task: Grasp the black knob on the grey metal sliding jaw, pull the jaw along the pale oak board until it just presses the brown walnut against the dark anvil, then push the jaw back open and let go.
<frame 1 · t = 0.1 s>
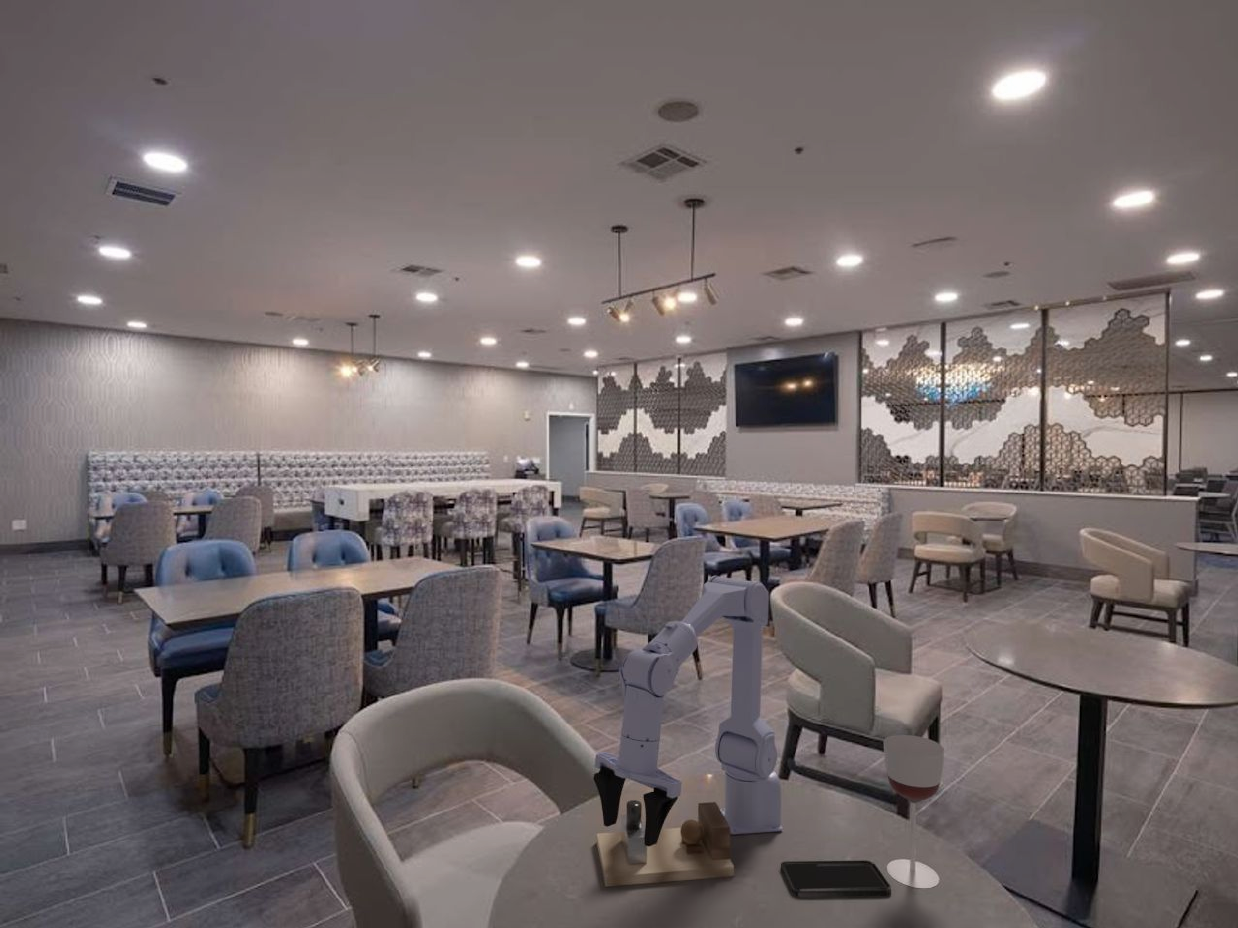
hand: (629, 833, 96), 11 cm above the table, tool pointing down, fingers open, 7 cm apart
wineglass: (912, 874, 105), on the table
walnut: (691, 831, 109), point 4 cm above the table, touching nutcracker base
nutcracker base: (662, 858, 108), on the table
phone: (834, 883, 103), on the table
sliding jaw: (633, 827, 107), point 5 cm above the table, slide at 0.0 cm
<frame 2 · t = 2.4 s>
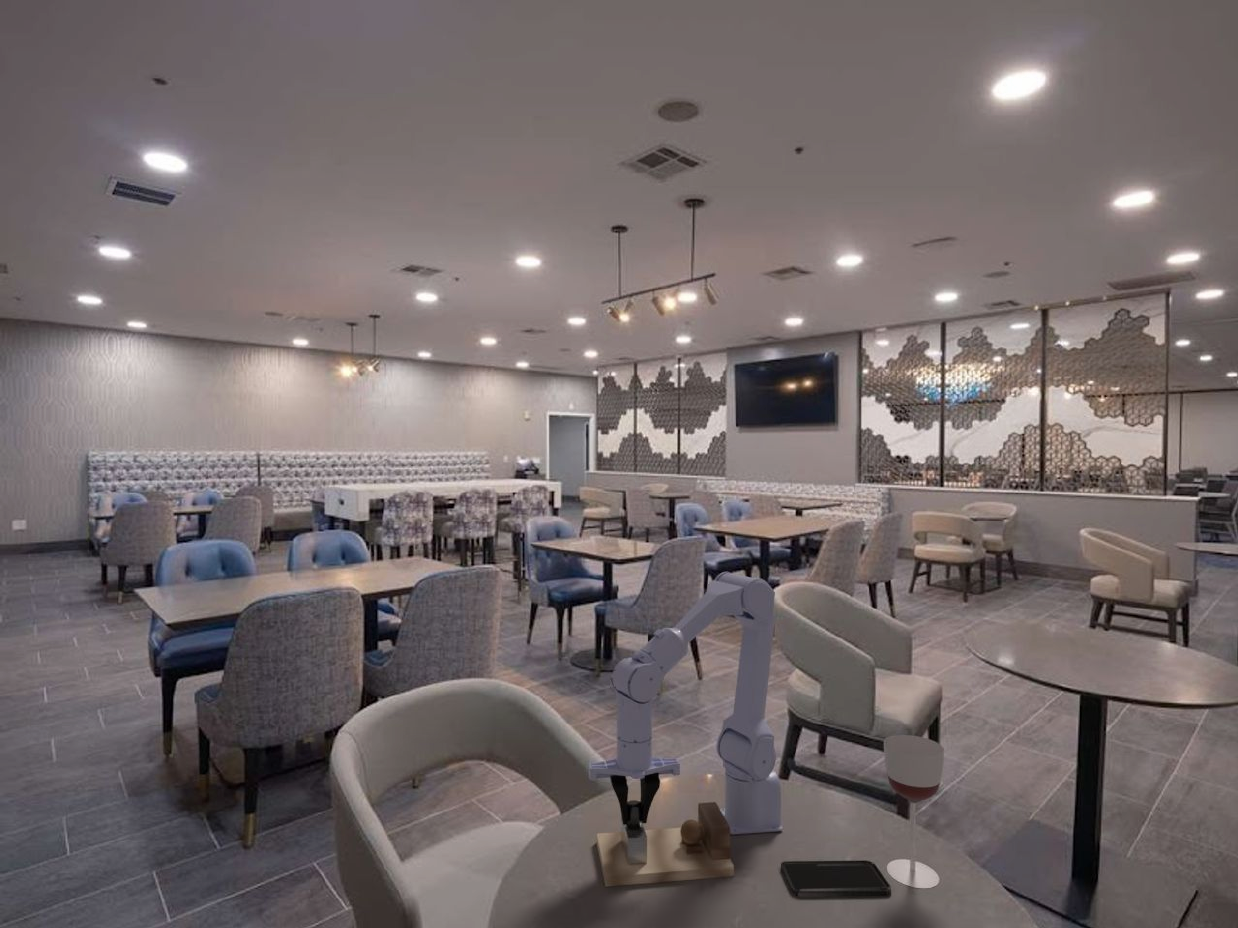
hand: (633, 820, 107), 6 cm above the table, tool pointing down, fingers closed on sliding jaw, 2 cm apart
sliding jaw: (633, 827, 107), point 5 cm above the table, slide at 0.0 cm, touching gripper
everything else where it was.
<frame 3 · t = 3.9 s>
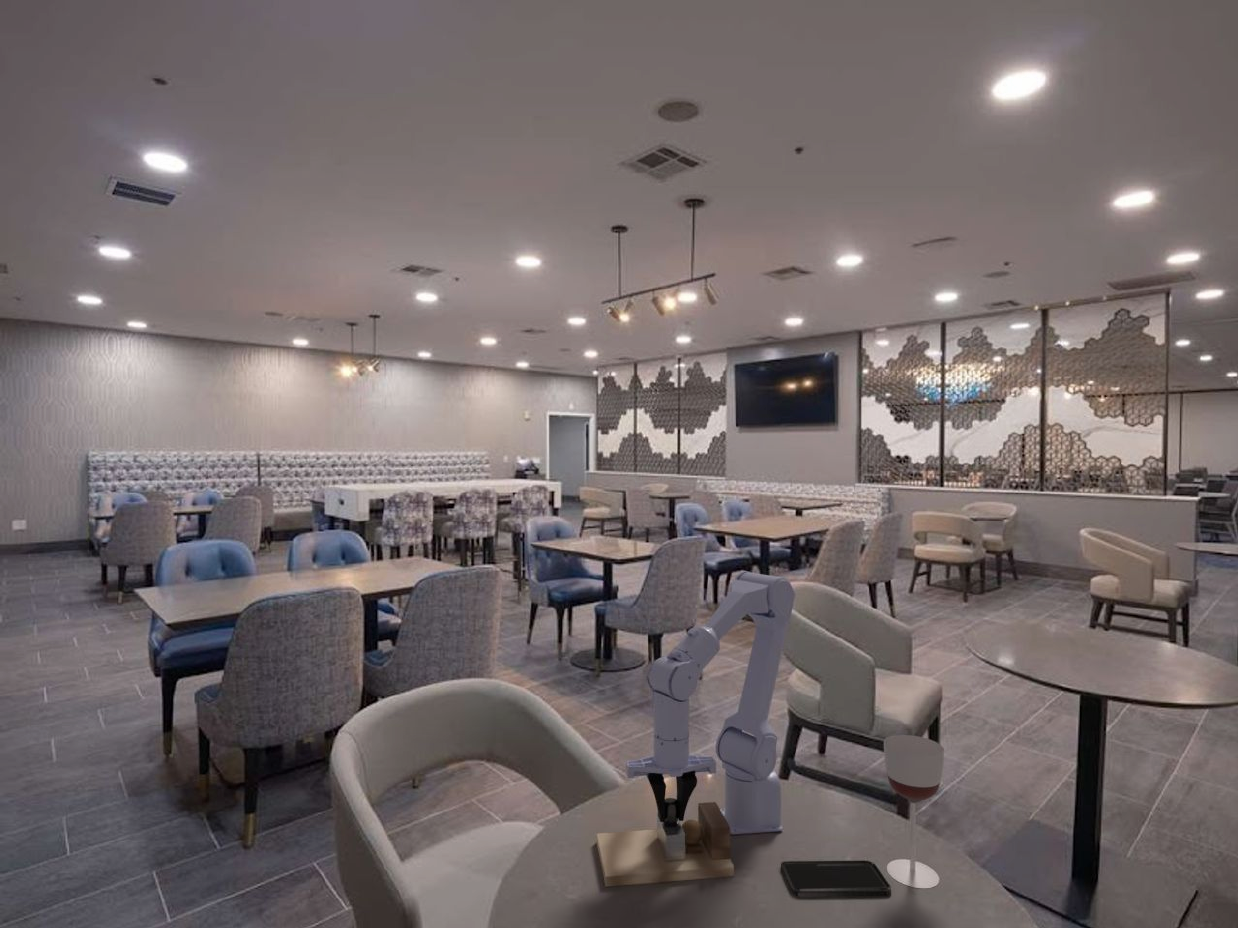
hand: (670, 818, 108), 6 cm above the table, tool pointing down, fingers closed on sliding jaw, 2 cm apart
sliding jaw: (670, 824, 108), point 5 cm above the table, slide at 6.0 cm, touching gripper
everything else where it was.
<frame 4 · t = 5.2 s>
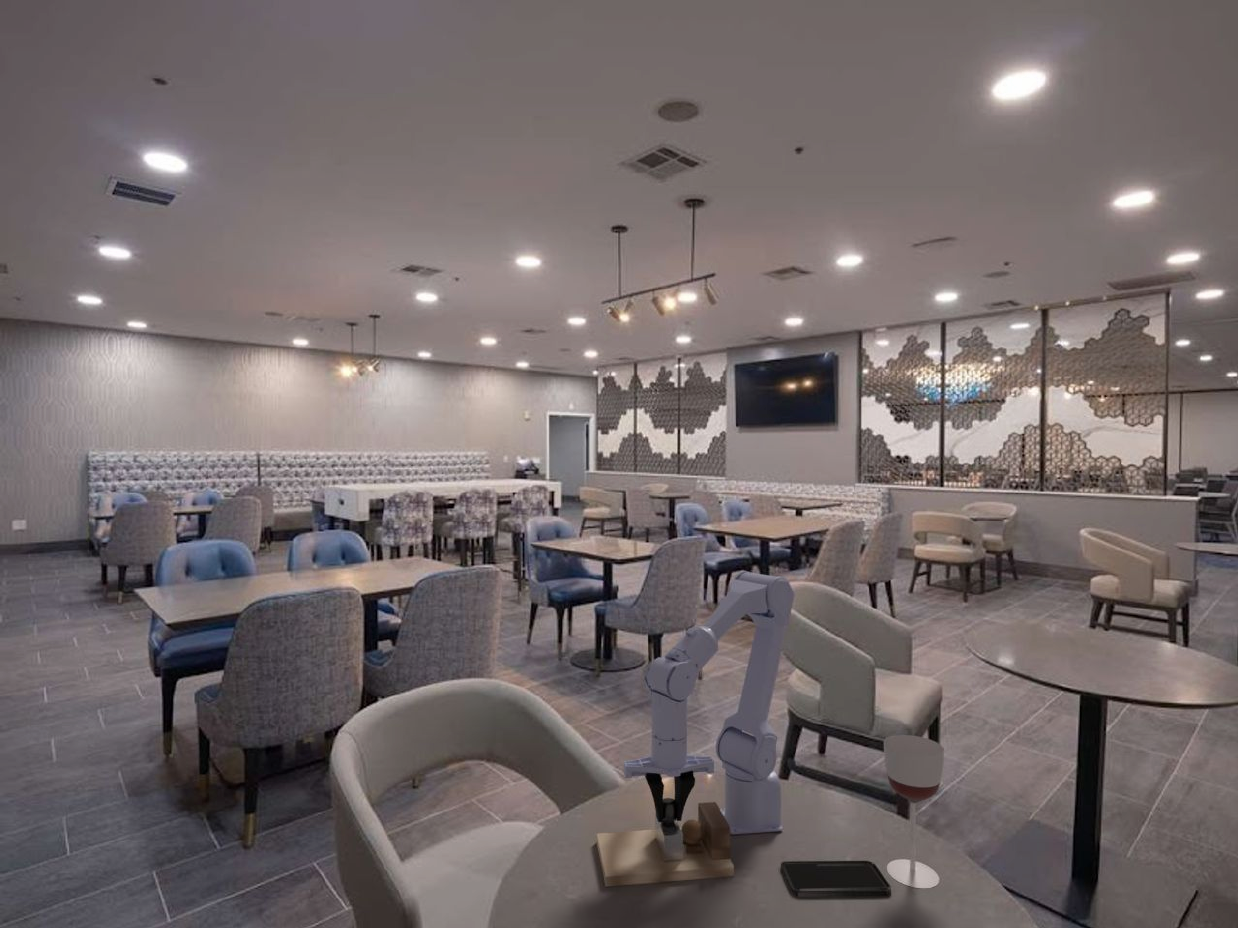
hand: (668, 818, 108), 6 cm above the table, tool pointing down, fingers closed on sliding jaw, 2 cm apart
sliding jaw: (668, 824, 108), point 5 cm above the table, slide at 5.7 cm, touching gripper
everything else where it was.
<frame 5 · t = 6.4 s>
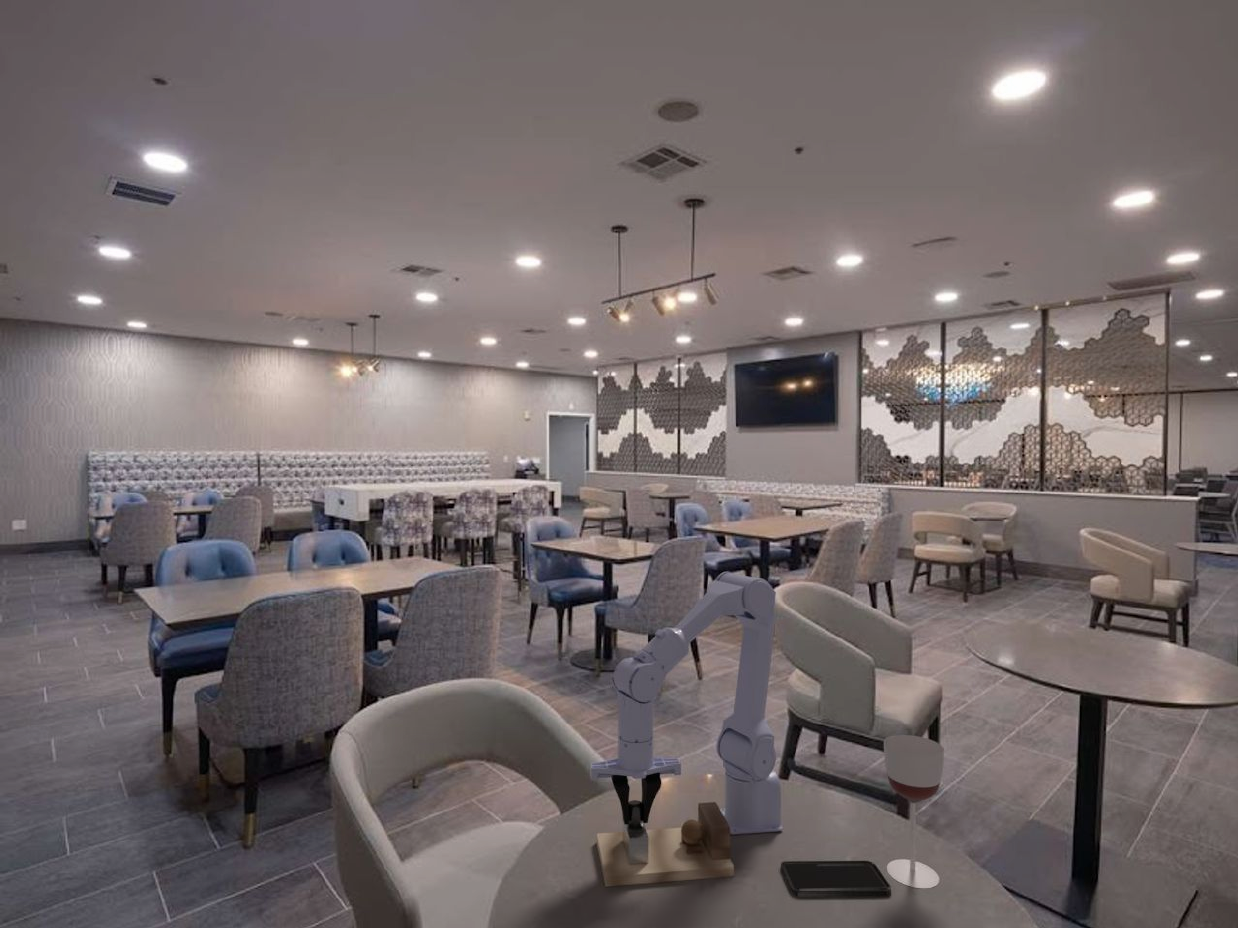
hand: (635, 820, 107), 6 cm above the table, tool pointing down, fingers closed on sliding jaw, 2 cm apart
sliding jaw: (635, 827, 107), point 5 cm above the table, slide at 0.2 cm, touching gripper
everything else where it was.
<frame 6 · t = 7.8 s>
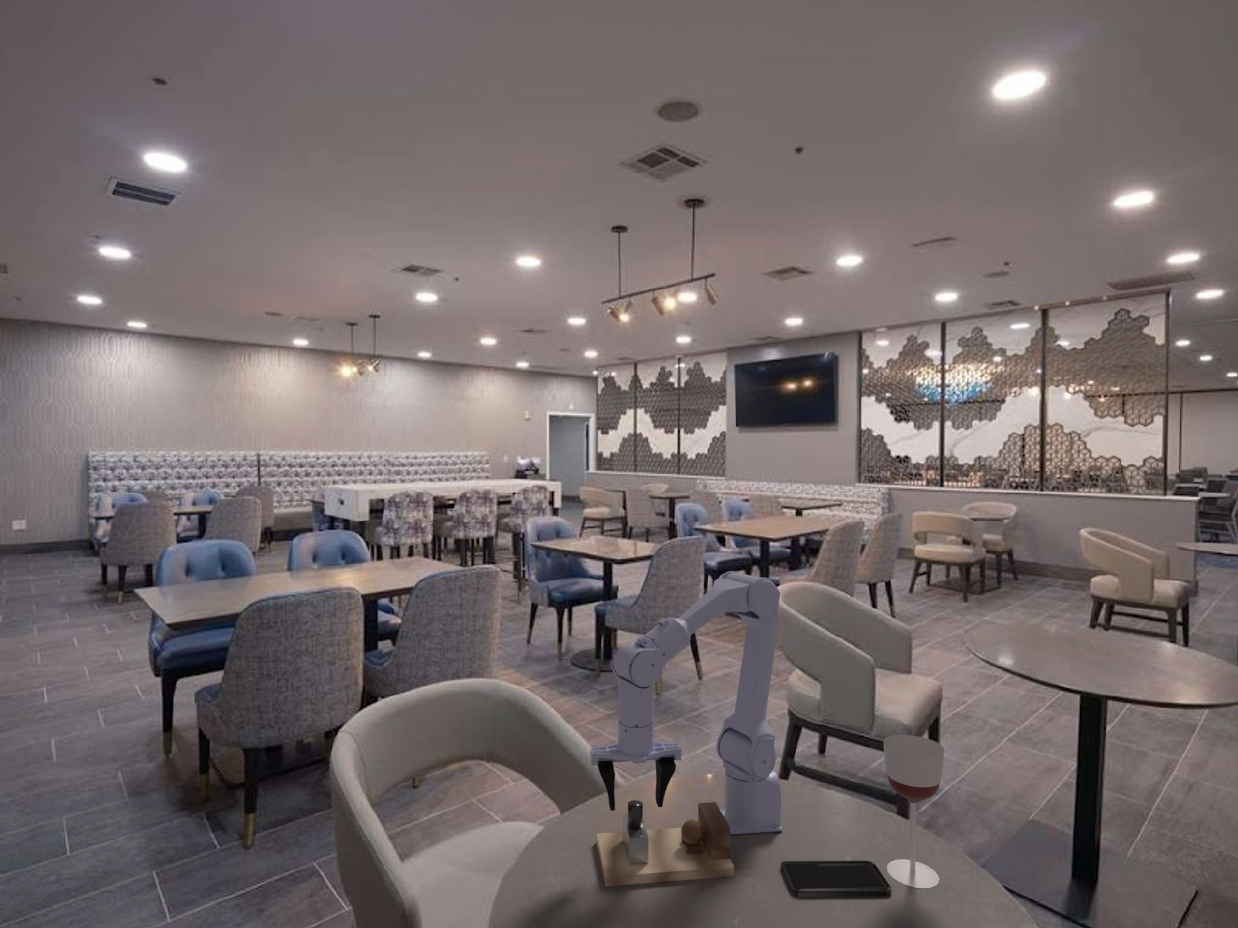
hand: (635, 805, 107), 9 cm above the table, tool pointing down, fingers open, 7 cm apart
sliding jaw: (635, 827, 107), point 5 cm above the table, slide at 0.2 cm
everything else where it was.
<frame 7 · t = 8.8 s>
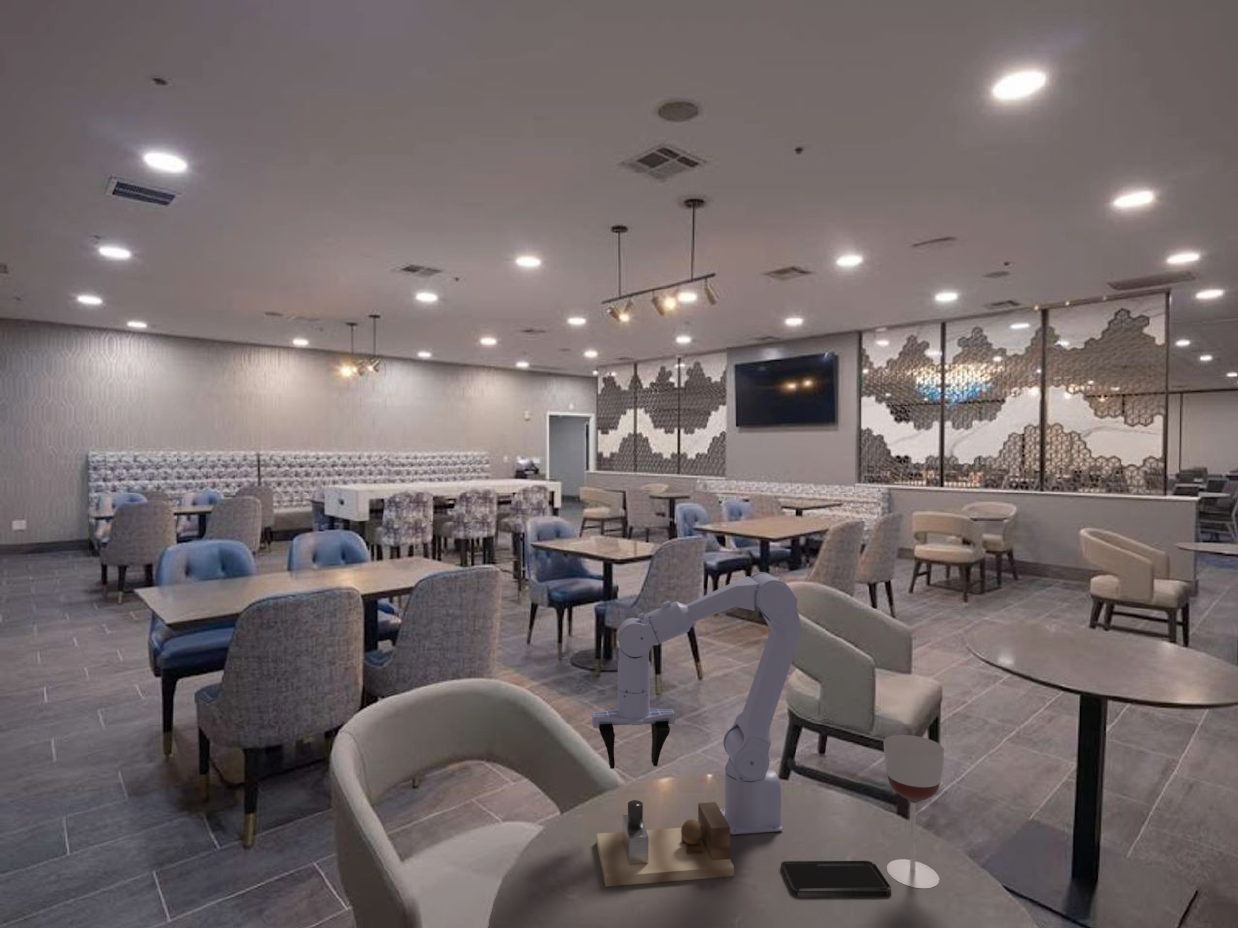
hand: (633, 764, 119), 10 cm above the table, tool pointing down, fingers open, 7 cm apart
nothing on the table moved.
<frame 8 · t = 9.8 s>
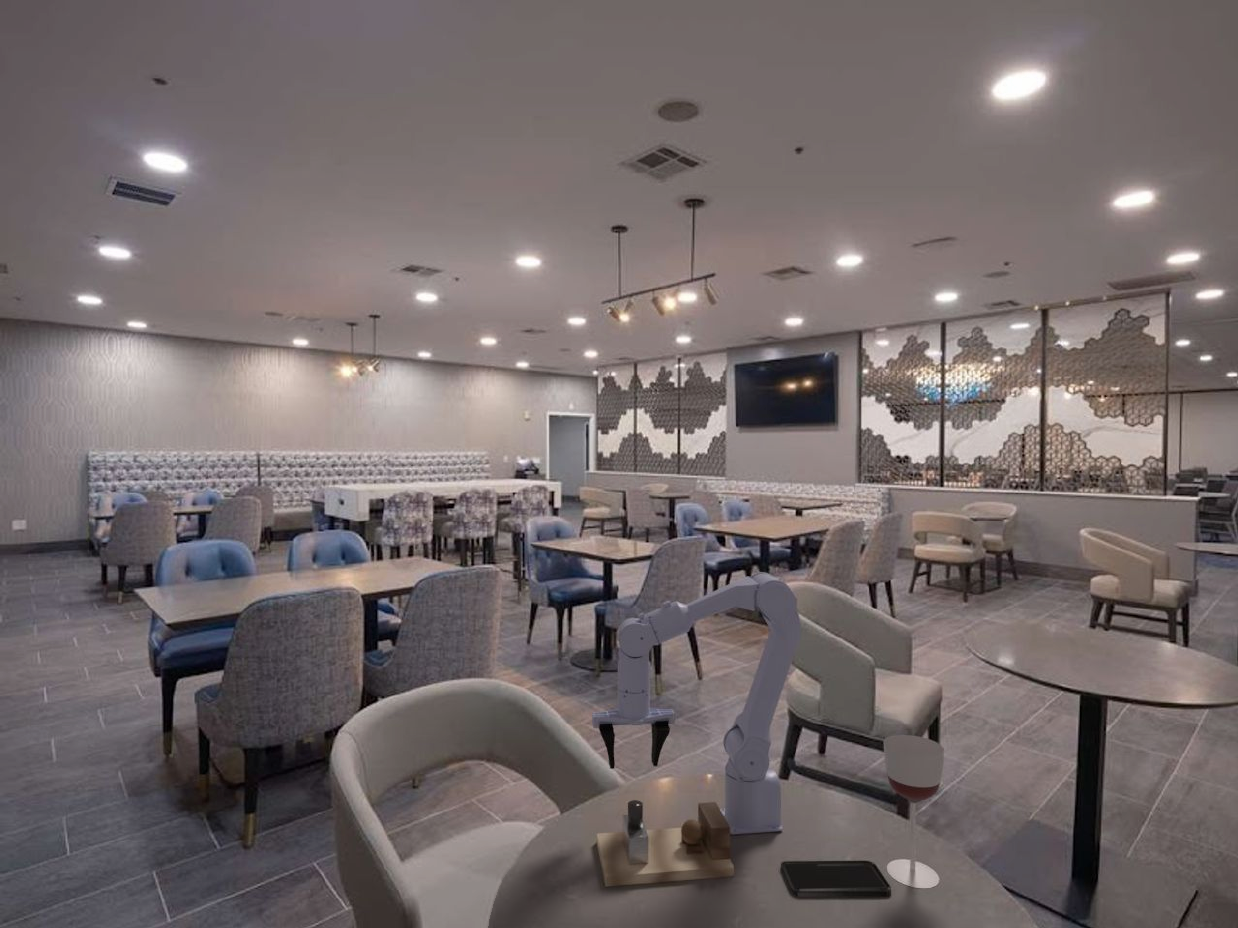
hand: (633, 764, 119), 10 cm above the table, tool pointing down, fingers open, 7 cm apart
nothing on the table moved.
at the end: sliding jaw slide at 0.2 cm; walnut 0.2 cm from the target spot on the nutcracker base, point 3.9 cm above the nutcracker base's base; the gripper is holding nothing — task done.
